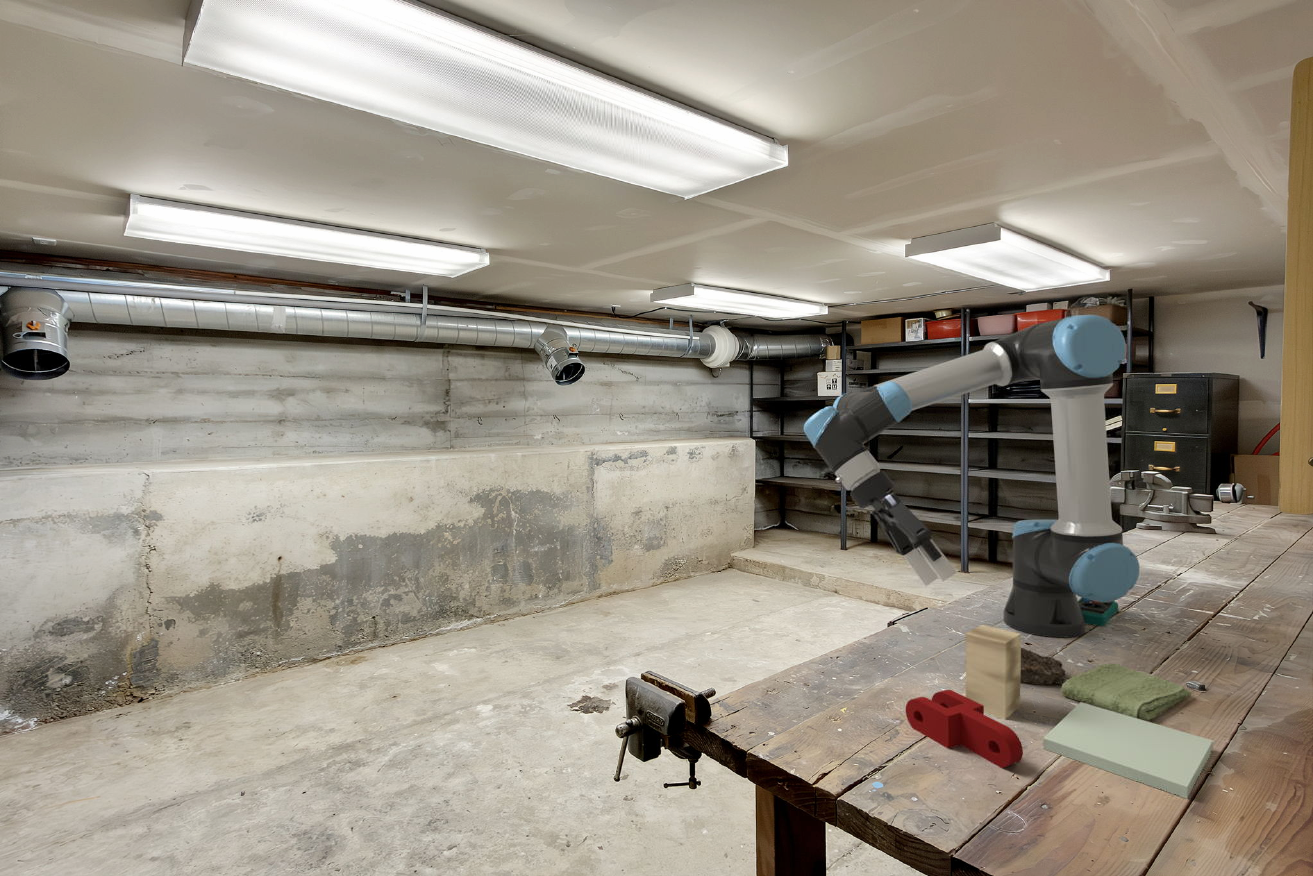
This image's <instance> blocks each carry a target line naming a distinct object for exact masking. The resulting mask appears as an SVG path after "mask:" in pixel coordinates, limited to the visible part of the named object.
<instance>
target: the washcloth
mask: <svg viewBox="0 0 1313 876" xmlns="http://www.w3.org/2000/svg"><path fill="white" fill-rule="evenodd" d="M1059 690H1060V692H1061V695H1062V696H1064V697H1066V698H1069V699H1070V698H1071V700H1074V701H1077V702H1079V703H1080V702H1082V703H1086V704H1089V705H1092V706H1096V707H1099V708H1103V709H1106V710H1109V711H1113V712H1116V713H1120V714H1123V715H1127V716H1130V717H1134V718H1137V719H1140V720H1144V721H1147V722H1151V720H1153V719H1155V718H1156V717H1158V716H1159V715H1161V714H1160V713H1162V712H1163V713H1165V711H1166V710H1168V709H1169V708H1171V707H1174V706H1175V705H1176V704H1178V703H1179V702H1181V701H1183V700H1185V699H1186V698H1187V697H1188V698H1189V697H1190V698H1191V697H1192V693H1191V691H1190V690H1189V689H1187V688H1186V687H1185V688H1184V686H1183V685H1181V684H1177V683H1174V682H1171V681H1169V680H1166V679H1164V678H1161V677H1158V676H1156V675H1154V674H1151V673H1149V672H1146V671H1143V670H1142V671H1140V670H1132V669H1130V668H1127V667H1125V666H1124V665H1123V664H1121V663H1115V662H1113V663H1112V662H1111V663H1110V662H1109V663H1103V664H1098V665H1097V666H1095V667H1093V668H1090V669H1089V670H1087V671H1084V672H1082V673H1080V674H1076V675H1074V676H1072V677H1070V678H1069V679H1066V681H1064V682H1063V683H1062V684H1061V687H1060V689H1059ZM1163 713H1162V714H1163Z"/></svg>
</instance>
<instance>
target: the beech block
mask: <svg viewBox="0 0 1313 876" xmlns="http://www.w3.org/2000/svg"><path fill="white" fill-rule="evenodd" d="M1021 638H1022V633H1021V632H1020V633H1019V632H1014V631H1010V630H1008V629H1003V628H998V627H994V626H989V625H986V624H981V625H978V626H977V627H975V628H973V629H972V630H970V631H968V632H966V633H965V697H967V698H969V699H971V700H973V701H975V702H977V703H979V704H981V705H984V713H985V714H986V715H987V714H988V715H991V716H993V717H997V718H1000V719H1003V720H1006V719H1008V718H1009V717H1010V716H1011V715H1012V714H1014V713H1015V712H1016V711H1017V710H1018V709H1020V708H1021V682H1020V678H1021V648H1022V644H1021V643H1022V639H1021Z"/></svg>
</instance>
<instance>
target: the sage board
mask: <svg viewBox="0 0 1313 876" xmlns="http://www.w3.org/2000/svg"><path fill="white" fill-rule="evenodd" d="M1213 744H1214V740H1212V739H1208V738H1206V737H1202V736H1198V735H1195V734H1191V733H1188V732H1184V731H1182V730H1178V729H1174V728H1171V727H1167V726H1166V725H1165V726H1164V725H1160V724H1157V723H1154V722H1151V721H1144V720H1140V719H1137V718H1134V717H1130V716H1127V715H1123V714H1120V713H1116V712H1113V711H1109V710H1106V709H1103V708H1099V707H1096V706H1092V705H1089V704H1085V703H1082V702H1080V701H1079V703H1078V704H1077V705H1076V706H1075V707H1074V708H1073V709H1071V711H1070V712H1069V713H1068V714H1067V715H1065V717H1063V718H1062V719H1061V720H1060V722H1059V723H1057V724H1056V725H1055V727H1053V728H1052V729H1051V730H1050V731H1049V732H1048V733H1047V734H1046V735H1045V736H1044V737H1043V738H1042V748H1043V749H1044V750H1046V751H1049V752H1052V753H1055V754H1058V755H1061V756H1063V757H1067V758H1069V759H1072V760H1075V761H1077V762H1081V763H1083V764H1086V765H1089V766H1092V767H1095V768H1097V769H1100V770H1103V771H1107V772H1110V773H1112V774H1115V775H1117V776H1120V777H1123V778H1126V779H1129V780H1131V781H1135V782H1137V781H1138V783H1140V782H1141V783H1140V784H1143V783H1144V785H1146V786H1149V785H1150V786H1149V787H1152V788H1154V787H1155V789H1157V788H1158V789H1157V790H1160V789H1162V790H1161V791H1163V790H1164V792H1166V791H1167V792H1166V793H1169V792H1170V793H1169V794H1172V795H1174V794H1176V795H1175V796H1177V795H1179V796H1178V797H1180V798H1183V799H1185V800H1187V799H1188V797H1189V796H1190V793H1191V792H1192V791H1193V788H1194V787H1193V786H1195V785H1196V783H1197V781H1198V779H1199V777H1200V776H1201V774H1202V772H1203V770H1204V768H1205V766H1206V764H1207V763H1208V761H1207V760H1209V759H1208V757H1209V755H1210V753H1211V751H1212V750H1214V745H1213ZM1212 752H1213V751H1212ZM1211 754H1212V753H1211ZM1210 756H1211V755H1210ZM1209 758H1210V757H1209ZM1205 763H1206V764H1205ZM1204 765H1205V766H1204ZM1203 767H1204V768H1203ZM1202 769H1203V770H1202ZM1201 771H1202V772H1201ZM1200 773H1201V774H1200ZM1198 776H1199V777H1198ZM1197 778H1198V779H1197ZM1196 780H1197V781H1196ZM1195 782H1196V783H1195ZM1194 784H1195V785H1194Z"/></svg>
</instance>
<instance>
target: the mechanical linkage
mask: <svg viewBox="0 0 1313 876" xmlns="http://www.w3.org/2000/svg"><path fill="white" fill-rule="evenodd" d="M905 715H906V719H907V722H908V723H909V725H910V727H911V728H912V729H913V730H915V731H916V732H918V733H919V734H921V735H924V737H926V738H929V739H930V740H932V741H934V742H936V743H937V744H939V745H941V746H942V747H943V748H946V749H947V750H950V749H952V748H956V747H959V746H961V747H962V748H965V749H967V750H968V751H970V752H971V753H974V754H976V755H977V756H979V757H981V758H983V759H985V760H986V761H988V762H990V763H991V764H993V765H995V766H997V767H999V768H1002V769H1003V768H1007V767H1009V766H1012V765H1015V764H1017V763H1019V762H1020V761H1021V760H1022V759H1023V755H1024V749H1023V744H1022V742H1021V740H1020V737H1018V735H1017V733H1016V732H1015V731H1014V730H1013V729H1011V727H1009V726H1008V725H1006V724H1004V723H1001V722H999V721H997V720H995V719H993V718H991V717H989V716H988V715H986V714H984V705H981V704H979V703H977V702H975V701H973V700H971V699H969V698H967V697H966V695H963V694H960V693H958V692H956V691H954V690H953V689H945V690H944V689H943V690H940V691H938V692H935V693H934V694H933V695H932V697H931V699H930V698H928V697H926V696H920V697H916V698H911V699H910V700H908V701H907V702H906V704H905Z"/></svg>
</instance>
